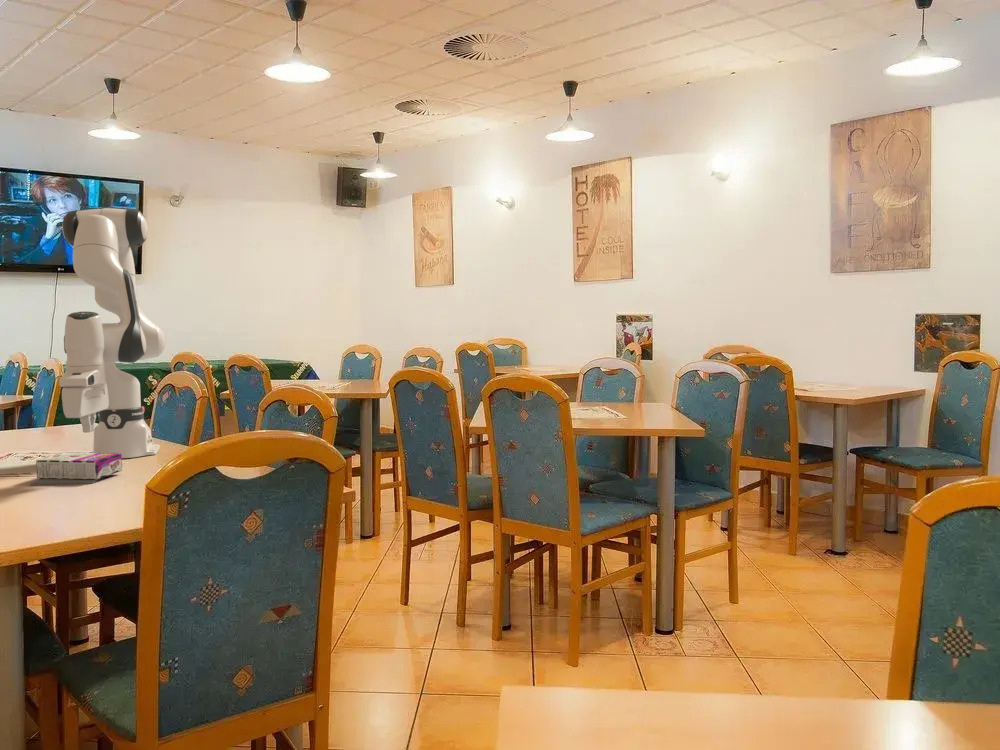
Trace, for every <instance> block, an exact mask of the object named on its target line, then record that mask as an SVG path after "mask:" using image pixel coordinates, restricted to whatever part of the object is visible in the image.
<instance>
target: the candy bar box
mask: <svg viewBox="0 0 1000 750" xmlns="http://www.w3.org/2000/svg"><path fill="white" fill-rule="evenodd" d="M35 465H36V479H40V478H42V479H44V478H45V479H92V480H97V479H99V478H102V477H104V478H106V477H108V476H111V475H114V474H117V473H120V472H123V458H122V455H121V453H90V452H65V451H64V452H62V453H57V454H54V455H50V456H47V457H43V458H39V459H37V460H35ZM105 476H106V477H105ZM102 479H103V478H102Z"/></svg>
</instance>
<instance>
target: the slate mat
mask: <svg viewBox="0 0 1000 750" xmlns="http://www.w3.org/2000/svg"><path fill="white" fill-rule="evenodd" d="M106 477H107V476H105V477H102V478H99V479H97V480H92V479H45V478H44V479H42V478H37V479H36V480H34V481H31V482H30V486H53V485H54V486H55V485H87V484H88V485H89V484H90V485H91V484H95V483H97V482H98V481H100V480H102V479H104V478H106Z"/></svg>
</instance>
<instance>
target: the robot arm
mask: <svg viewBox="0 0 1000 750" xmlns="http://www.w3.org/2000/svg"><path fill="white" fill-rule="evenodd" d="M61 227H62V228H61V230H62V234H63V236H64V238H65V239H64V240H65V241H66V242H67V243H68V244H69V245H70V246H71V247H73V248H72V266H73V270H74V272H75V274H76V276H77V277H78V278H79V279H80V280H82V282H84V283H86V284H88V285H89V286H92V287H94V299H95V302H96V304H97V305H98V306H99V307H100V308H101V309H103V310H106V311H108V312H111V313H112V314H114V315H116V316H117V317H118V318H119V320H120V321H119V322H114V323H113V322H112V323H109V322H108V323H107V322H105V323H103V322H102V318H101V315H100V314H99V313H98V312H95V311H77V312H71V313H69V314H68V315H66V319H65V325H64V336H63V350H64V353H65V354H66V362H65V371H64V373H63V375H62V376H60V377H59V380H58V385H59V387H61V388H62V390H61V401H62V411H63V414H64V417H65V418H66V419H79V421H80V425H81V426H82V432H83V433H91V432H93V448H92V450H93V451H90V452H89V453H121V455H122V459H129V458H139V457H144V456H153V455H157V453H158V452H159V450H160V448H161V445H160V444H158V443H157V444H156V443H153V442H152V441H153V440H152V430H151V428H150V427H149V424H147V422H146V420H145V419H144V418H145V415H144V413H145V406H143V405H142V402H141V401H142V400H141V399H142V398H141V383H140V381H139V379H138V378H137V377H136V376H135V375H133V374H130V373H128V372H125V371H123V370H121V369H120V368H118V367H117V365H116V363H129V364H130V363H132V364H134V363H135V362H138V361H144V360H149V359H154V358H159V356H161V354H162V353H163V352H164V350H165V348H166V336H165V333H164V331H163V329H161V328H160V327H159V326H158V325H157V324H156V323H154V322H153V321H151V320H150V319H149V318H148V317H147V315H145V313H144V311H143V310H142V308H141V305H140V303H139V299H138V298H139V297H138V293H137V283H136V281H137V280H136V279H137V278H136V268H135V266H136V265H135V260H134V256H133V252H137V250H138V248H140V247H141V246H142V245H144V243H145V242H146V241H147V236H148V234H149V233H148V232H149V226H148V222H147V220H146V217H145V215H144V214H143V213H142V212H141V210H137V209H133V208H127V209H125V208H112V207H104V208H93V209H92V208H91V209H84V210H82V209H81V210H80V209H75V210H72V211H71V210H70V211H68V212H67V213H66V214H65V215H63V219H62V226H61ZM97 417H98V424H97V425H96V426H95V423H96V419H97Z"/></svg>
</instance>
